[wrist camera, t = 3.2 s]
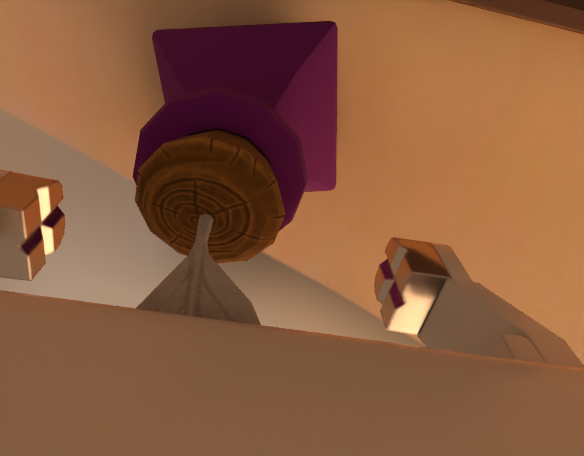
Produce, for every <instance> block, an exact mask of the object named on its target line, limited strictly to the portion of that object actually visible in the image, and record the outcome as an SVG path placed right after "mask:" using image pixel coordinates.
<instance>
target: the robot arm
mask: <svg viewBox="0 0 584 456" xmlns="http://www.w3.org/2000/svg"><path fill="white" fill-rule="evenodd" d="M62 191H63V190H62V185H61V183H60V182H59V181H58V180H53V179H47V178H41V177H37V176H31V175H25V174H21V173H15V172H11V171H6V170H0V277H1V278H11V279H18V280H27V281H32V279H33V278H34V277H35V276H36V275H37V273H38V272H39V271H40V270H41V268H42V267H43V266H44V264H45V263H46V262H45V255H48V254H50V253H53V252H55V250H56V249H57V248H58V246H59V245H60V243H61V240H62V238H63V235H64V229H65V215H64V213H63V212H62V211H61V210H60V209H59V207H58V206H57V205H58V204H59V203H60V202H61V200H62V199H63V192H62ZM385 253H386V255H387V258H388V259H387V260H385V261H384V262H383V263H381V264H380V265H379V268H378V270H377V273H376V277H375V285H374V286H375V295H376V298H377V300H378V301H379V302H380V303H381V304H383V306H382V309H381V311H380V312H381V315H382V318H383V321H384V324H385V328H386V330H390V331H396V332H402V333H408V334H414V335H419V336H418V337H419V338H420V339H421V340H422V342H423V343H424V344H425V345H426V346H427V347H428V348H427V347H420V346H412V345H405V344H397V343H390V342H382V341H375V340H366V339H360V338H352V337H345V336H337V335H330V334H322V333H315V332H307V331H300V330H292V329H285V328H277V327H270V326H262V325H255V324H248V323H240V322H233V321H225V320H218V319H210V318H203V317H195V316H188V315H180V314H173V313H165V312H158V311H150V310H143V309H135V308H127V307H120V306H113V305H106V304H97V303H91V302H83V301H76V300H68V299H61V298H53V297H45V296H38V295H31V294H23V293H15V292H8V291H1V290H0V456H584V365H583V364H582V363H581V361H580V360H579V359H578V357H577V356H576V355H575V354H574V352H573V351H572V350H571V348H570V347H569V346H568V344H567V343H566V342H565V341H564V340H563V339H561V338H560V337H558V336H557V335H555V334H554V333H552V332H551V331H549V330H548V329H546V328H545V327H543V326H542V325H541V324H539V323H538V322H536V321H535V320H533V319H532V318H530V317H529V316H527V315H526V314H524V313H523V312H521V311H520V310H518V309H517V308H515V307H514V306H512V305H511V304H509V303H508V302H506V301H505V300H503V299H502V298H500V297H499V296H497V295H496V294H494V293H493V292H491V291H490V290H488V289H487V288H485V287H484V286H482V285H481V284H479V283H475V282H472V280H471V278H470V277H469V275H468V274H467V272H466V270H465V269H464V267H463V266H462V264H461V263H460V261H459V259H458V258H457V256H456V255H455V253H454V251H453V250H452V248H451V247H450V246H448V245H443V244H435V243H429V242H422V241H415V240H408V239H401V238H391V240H390V241H389V242H388V245H387V247H386V249H385Z"/></svg>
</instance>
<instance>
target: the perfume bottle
mask: <svg viewBox="0 0 584 456" xmlns="http://www.w3.org/2000/svg"><path fill="white" fill-rule="evenodd" d="M337 29H338V28H337V25H336V23H335V22H332V21H321V22H301V23H282V24H262V25H243V26H223V27H204V28H184V29H164V30H156V31H155V32H153V36H152V40H153V45H154V50H155V55H156V60H157V65H158V70H159V75H160V80H161V85H162V90H163V95H164V100H165V104H164V105H163V106H162V107H161V109H160V110H159V111H158V112H157V113H156V114H155V115H154V116H153V117H152V118H151V119H150V120H149V121H148V122H147V123H146V125H145V126H144V127H143V128H142V129H141V130H140V136H139V142H138V148H137V154H136V160H135V166H134V172H133V178H134V181H135V183H136V185H137V187H136V196H135V201H136V204H137V206H138V207H139V210H140V212H141V214H142V216H143V218H144V220H145V222H146V223H147V226H148V228H149V229H150V231H151V232H152V233H154V234H155V235H156V236H157V237H159V238H160V239H161V240H163V241H164V242H165V243H166V244H168V245H169V246H170V247H172V248H173V249H174V250H175V251H177V252H178V253H180V254H183V255H187V257H186V258H185V259H184V260H183V261H182V262H181V263H180V264H179V265H178V266H177V267H176V268H175V269H174V270H173V271H172V272H171V273H170V274H169V275H168V276H167V277H166V278H165V279H164V280H163V281H162V282H161V283H160V284H159V285H158V287H156V288H155V289H154V290H153V291H152V292H151V294H150V295H148V297H146V299H145V300H144V301H143V302H142V303H141V304H140V305H139V306H138V307H137V308H136V309H143V310H150V311H158V312H165V313H173V314H180V315H188V316H195V317H203V318H210V319H218V320H225V321H233V322H240V323H248V324H255V325H261V324H260V322H259V320H258V317H257V315H256V312H255V310H254V307H253V305H252V302H251V301H250V300H249V299H248V298H247V297H246V296H245V295H244V294H243V293H242V292H241V290H240V289H239V288H238V287H237V286H236V285H235V284H234V282H233V281H232V280H231V279H230V278H229V277H228V276H227V274H226V273H225V272H224V271H223V270H222V269H221V268H220V267H219V265H218V264H217V263H225V262H236V261H247V260H248V259H250V258H252V257H253V256H255V255H256V254H258V253H259V252H261V251H262V250H264V249H265V248H267V247H268V246H270V245H271V244H273V243H274V241H275V238H276V236H277V234H278V231H280V230H281V229H282V228H283V227H285V226H286V225H287V224H289V223H290V222H291V221H292V219H293V217H294V215H295V213H296V210H297V208H298V205H299V203H300V200H301V198H302V195H303V193H304V192H309V191H329V190H332V189H334V188H335V186H336V131H337Z"/></svg>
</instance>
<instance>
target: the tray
mask: <svg viewBox="0 0 584 456" xmlns="http://www.w3.org/2000/svg"><path fill="white" fill-rule="evenodd" d="M450 1H454V2H458V3H462V4H466V5H470V6H474V7H478V8H482V9H486V10H490V11H494V12H497V13H501V14H505V15H509V16H513V17H517V18H521V19H525V20H529V21H533V22H537V23H541V24H545V25H549V26H553V27H557V28H561V29H565V30H569V31H573V32H577V33H581V34H584V0H450Z"/></svg>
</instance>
